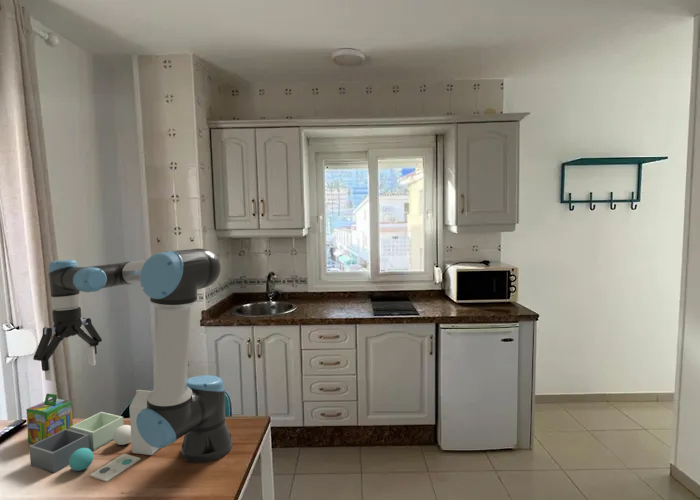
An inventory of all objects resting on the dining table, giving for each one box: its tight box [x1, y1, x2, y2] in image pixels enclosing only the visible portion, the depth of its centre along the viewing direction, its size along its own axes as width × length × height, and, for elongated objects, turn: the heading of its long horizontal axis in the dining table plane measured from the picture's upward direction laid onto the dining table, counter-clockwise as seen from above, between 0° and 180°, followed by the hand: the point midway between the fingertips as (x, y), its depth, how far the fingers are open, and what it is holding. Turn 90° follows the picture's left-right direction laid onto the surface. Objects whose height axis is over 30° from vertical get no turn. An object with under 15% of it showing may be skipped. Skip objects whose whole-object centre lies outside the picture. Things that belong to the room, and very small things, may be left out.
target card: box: [89, 453, 141, 483], centre depth 118 cm, size 7×11×1 cm, turn 158°
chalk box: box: [26, 393, 74, 444], centre depth 134 cm, size 9×9×15 cm
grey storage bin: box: [28, 429, 90, 474], centre depth 122 cm, size 11×11×6 cm
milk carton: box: [129, 389, 161, 456], centre depth 127 cm, size 7×7×19 cm
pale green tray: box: [70, 411, 125, 452], centre depth 133 cm, size 11×11×6 cm
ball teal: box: [68, 448, 94, 472], centre depth 117 cm, size 6×6×6 cm
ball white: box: [113, 424, 132, 446], centre depth 130 cm, size 6×6×6 cm
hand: (71, 372), depth 130 cm, fingers open, 13 cm apart
